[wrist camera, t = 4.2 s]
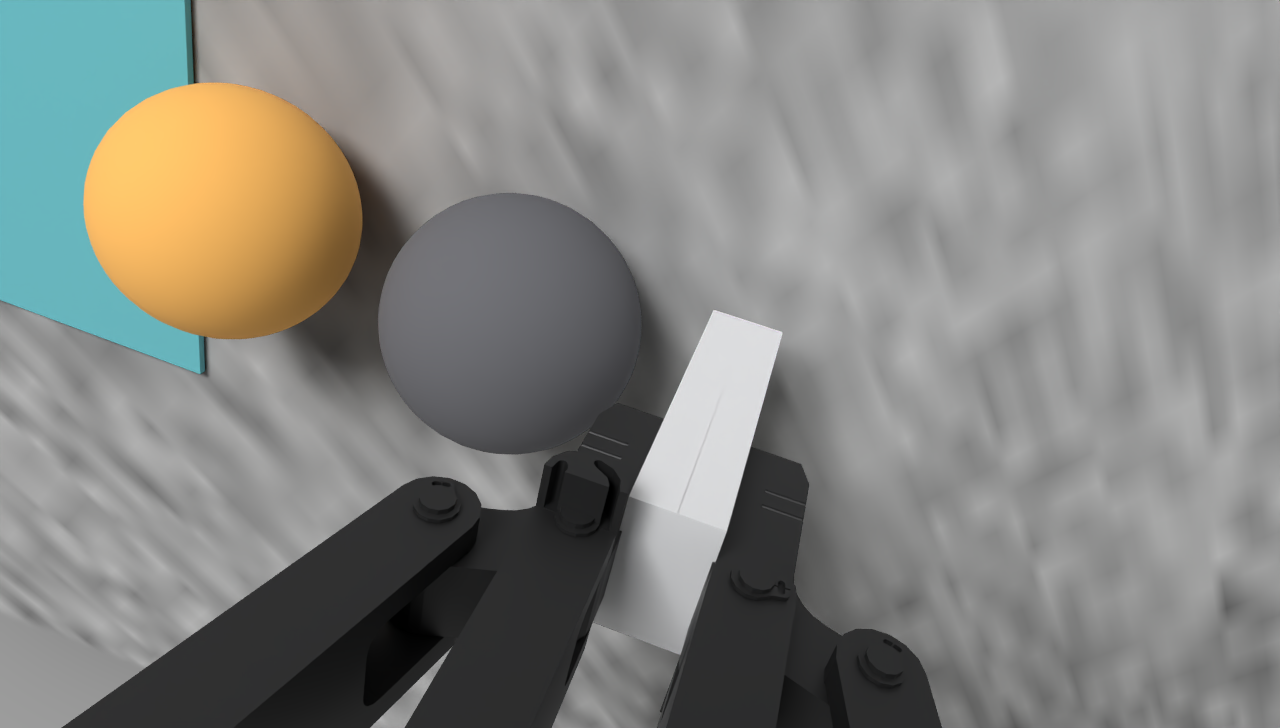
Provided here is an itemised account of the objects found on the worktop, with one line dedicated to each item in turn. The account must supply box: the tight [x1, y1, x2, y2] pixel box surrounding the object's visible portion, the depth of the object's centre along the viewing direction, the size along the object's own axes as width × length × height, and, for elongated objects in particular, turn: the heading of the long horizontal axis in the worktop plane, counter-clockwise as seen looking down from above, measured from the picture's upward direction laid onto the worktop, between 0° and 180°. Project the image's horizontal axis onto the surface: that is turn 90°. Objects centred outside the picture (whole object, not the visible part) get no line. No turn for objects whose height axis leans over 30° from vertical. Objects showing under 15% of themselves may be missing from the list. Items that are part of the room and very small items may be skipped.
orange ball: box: [83, 83, 362, 339], centre depth 19 cm, size 6×6×6 cm
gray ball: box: [378, 193, 641, 454], centre depth 19 cm, size 6×6×6 cm
